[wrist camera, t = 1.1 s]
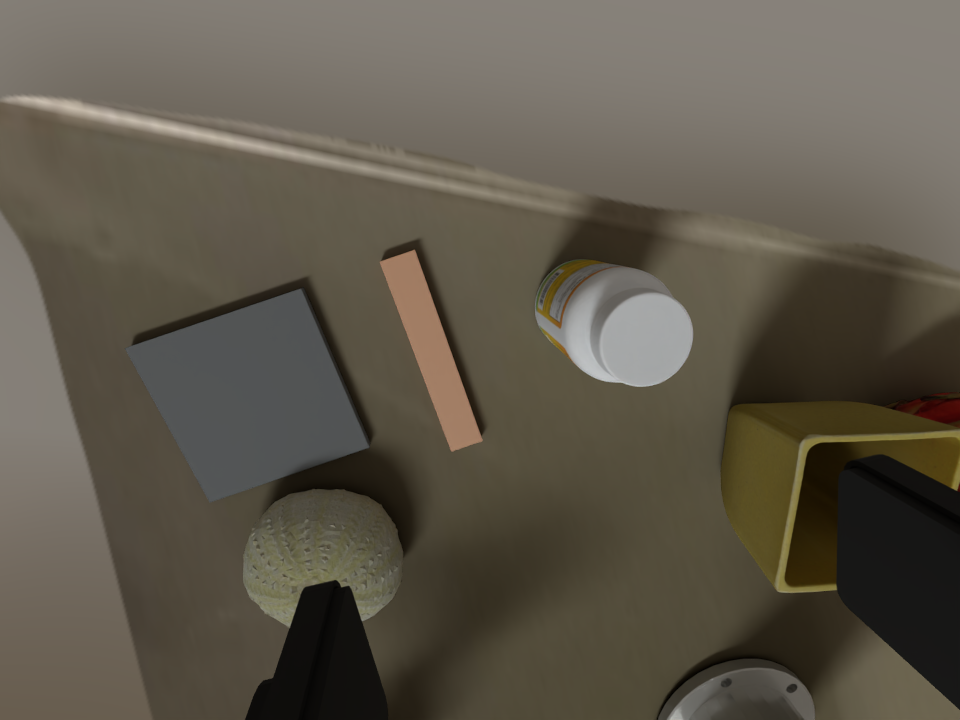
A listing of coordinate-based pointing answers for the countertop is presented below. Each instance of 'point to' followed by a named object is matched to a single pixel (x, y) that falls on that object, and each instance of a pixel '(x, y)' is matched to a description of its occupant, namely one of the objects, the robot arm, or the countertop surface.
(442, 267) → the countertop surface
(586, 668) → the countertop surface
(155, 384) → the pad
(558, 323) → the supplement bottle
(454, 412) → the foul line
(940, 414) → the dragon fruit
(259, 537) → the sea urchin shell
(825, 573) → the flower pot
